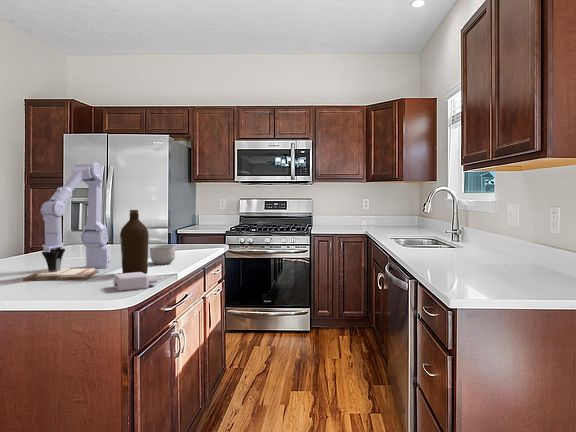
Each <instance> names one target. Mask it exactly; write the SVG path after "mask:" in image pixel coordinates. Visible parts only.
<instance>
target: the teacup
mask: <svg viewBox="0 0 576 432" xmlns="http://www.w3.org/2000/svg"><path fill="white" fill-rule="evenodd" d="M175 251H176V250H175V244H158V245H152V246H150V247H149V253H150V259H151V261H152V262H153V263H154V264H156V265H168V264H171V263H172V262H173V261H174V260H175V258H176V252H175Z"/></svg>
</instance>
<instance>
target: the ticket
mask: <svg viewBox="0 0 576 432" xmlns="http://www.w3.org/2000/svg"><path fill="white" fill-rule="evenodd" d="M95 270H96V268H70V270H67V271H65V272H63V273H62V274H59V277H84V276H86V275H88V274H89V273H91V272H93V271H95Z"/></svg>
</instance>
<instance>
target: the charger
mask: <svg viewBox="0 0 576 432" xmlns="http://www.w3.org/2000/svg"><path fill="white" fill-rule="evenodd" d="M162 279H163V278H162V277H160V276H159V277H157V276H156V275H155V274H154V275H147V273H146V274H144V273H142V272H134V273H122V272H121V273H114V274H113V287H114V288H115V289H116V290H117V291H118V290H119V292H123V291H124V290H126V291H133V289H136V290H143V288H146V289H148V288H149V287H150V284H156V283H158V280H162ZM124 292H125V291H124Z"/></svg>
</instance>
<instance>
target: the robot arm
mask: <svg viewBox="0 0 576 432" xmlns="http://www.w3.org/2000/svg"><path fill="white" fill-rule="evenodd" d="M103 171H104V170H103V167H102V165H100V163H98V162H77V163H75V164H74V165H73V167H72V168H71V175H70V176H69V178H68V179H67V181H66V183H65V184H64V186H60V187H57V188H56V191H55V192H54V193H53V195H52V196H51V197H49V200H48V201H45V202H44V203H43V204H42V205H41V207H40V214H41V215H42V220H43V221H44V244H42V245H41V247H42V248H43V250H42V251H41V253H42V256H43V258H44V259H45V261H46V265H47V270H48V269H49V270H55V268H56V261H57V258H60V265H61V264H62V263H61V262H62V260H63V259H62V258H63V256H64V253H65V252H66V248H64V242H63V238H62V237H63V231H62V230H63V229H62V216H63V215H64V214H65V212H66V207H67V204H68V203H69V201H70V200H71V199H72V197H73V191H74V190H75V188H77V187H78V185H80V183H81V182H83V183H85V185H87V187H88V189H87V190H88V192H87V194H88V195H87V223H86V224H85V225H84V226H83V227H82V232H81V234H80V235H81V236H80V240H81V242H82V244H83V247H85V261H86V263H85V264H86V265H84V266H83V267H82V269H84V268H95V269H107V268H108V267H110V266H112V264H111V248H110V246H108V245H107V243H108V241H109V234H108V228H107V226H105V224H103V223H102V210H103V209H102V208H103V206H102V201H103V197H102V195H103V180H104V179H103V176H104V175H103V173H104V172H103Z"/></svg>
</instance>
